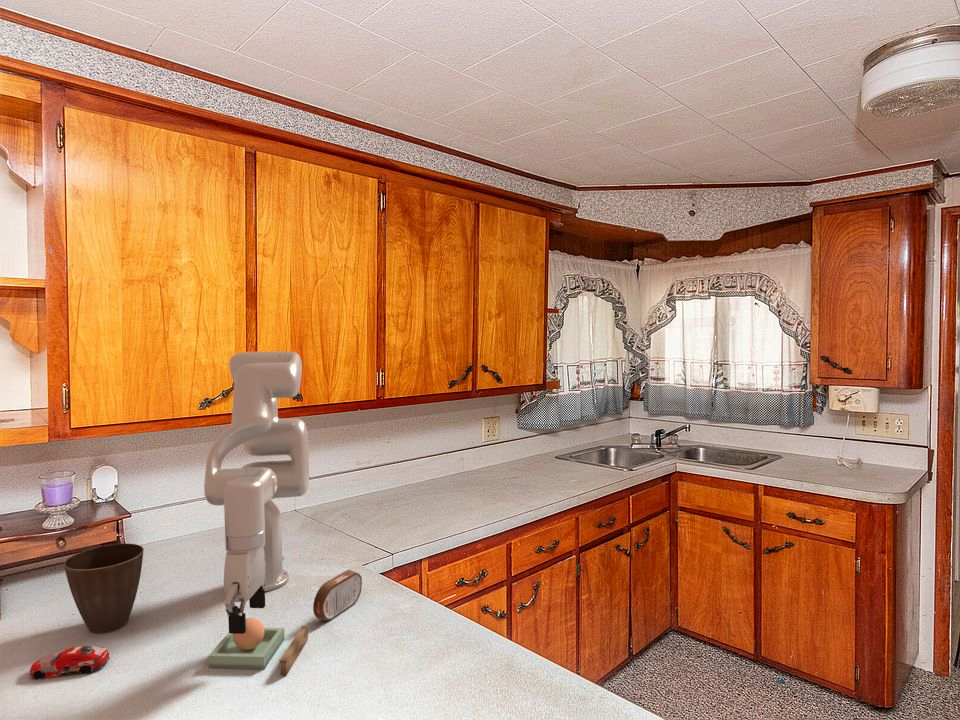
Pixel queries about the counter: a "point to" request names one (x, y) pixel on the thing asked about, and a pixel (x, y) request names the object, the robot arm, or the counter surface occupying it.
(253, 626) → the ball
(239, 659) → the tray
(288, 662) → the rail
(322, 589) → the tin
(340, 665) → the counter surface
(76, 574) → the plant pot
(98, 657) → the race car
